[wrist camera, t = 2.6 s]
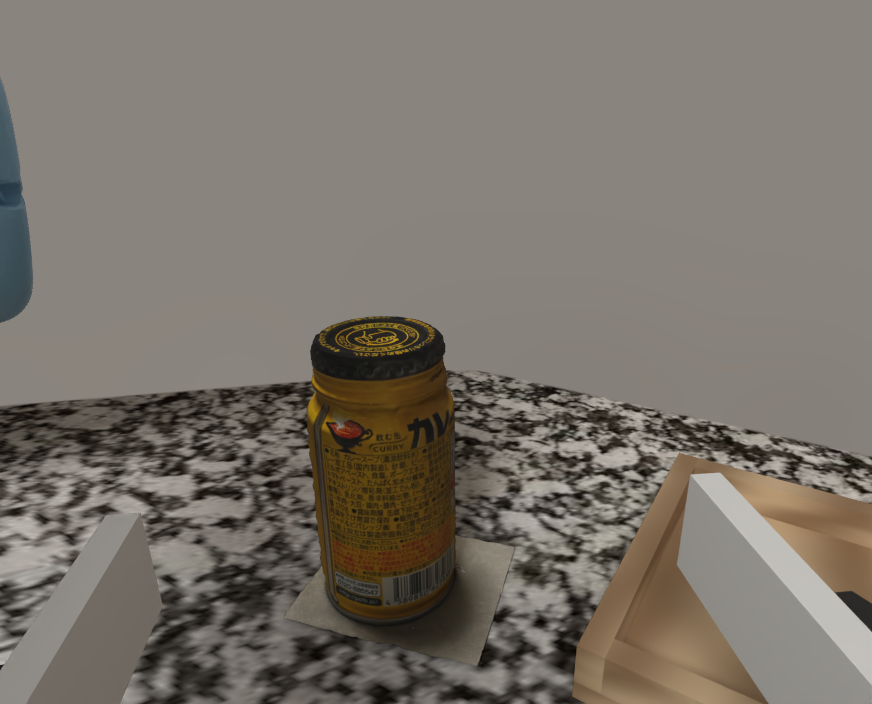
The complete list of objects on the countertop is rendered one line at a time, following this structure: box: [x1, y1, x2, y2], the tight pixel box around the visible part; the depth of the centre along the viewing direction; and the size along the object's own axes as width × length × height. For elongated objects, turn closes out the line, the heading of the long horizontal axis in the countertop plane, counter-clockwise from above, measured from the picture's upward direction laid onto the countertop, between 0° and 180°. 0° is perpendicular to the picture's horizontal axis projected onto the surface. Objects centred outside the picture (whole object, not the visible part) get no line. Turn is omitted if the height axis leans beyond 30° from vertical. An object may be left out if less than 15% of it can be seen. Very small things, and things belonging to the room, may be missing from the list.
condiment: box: [283, 316, 514, 666], centre depth 26 cm, size 7×8×12 cm
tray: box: [572, 453, 872, 704], centre depth 24 cm, size 15×15×2 cm
